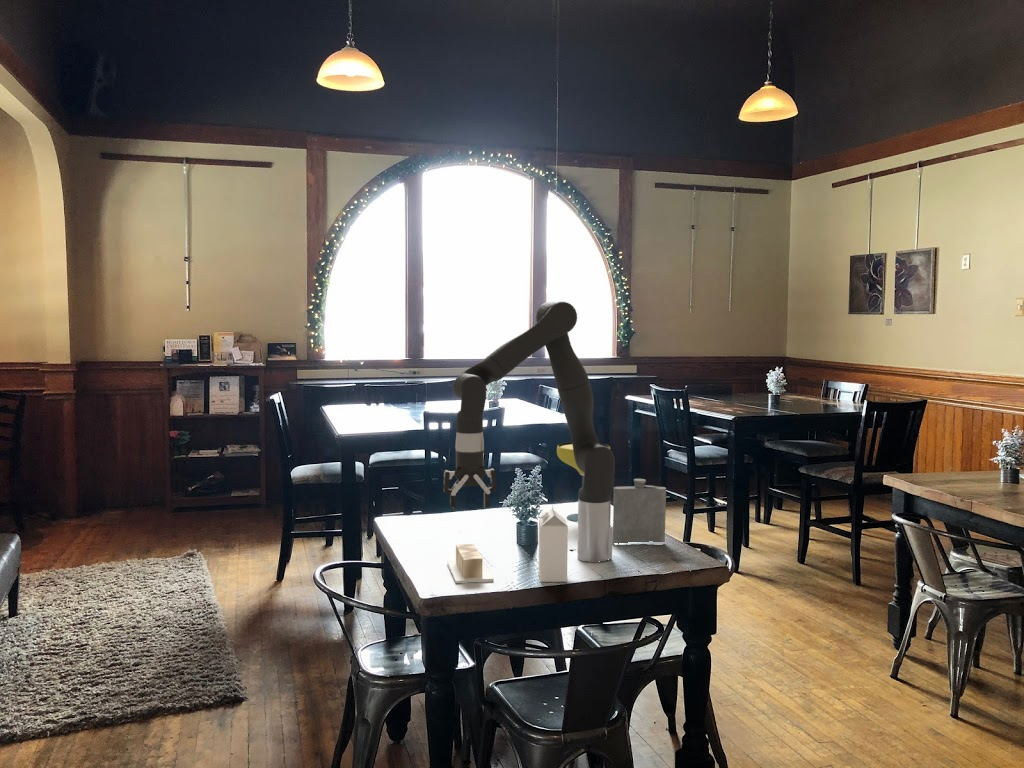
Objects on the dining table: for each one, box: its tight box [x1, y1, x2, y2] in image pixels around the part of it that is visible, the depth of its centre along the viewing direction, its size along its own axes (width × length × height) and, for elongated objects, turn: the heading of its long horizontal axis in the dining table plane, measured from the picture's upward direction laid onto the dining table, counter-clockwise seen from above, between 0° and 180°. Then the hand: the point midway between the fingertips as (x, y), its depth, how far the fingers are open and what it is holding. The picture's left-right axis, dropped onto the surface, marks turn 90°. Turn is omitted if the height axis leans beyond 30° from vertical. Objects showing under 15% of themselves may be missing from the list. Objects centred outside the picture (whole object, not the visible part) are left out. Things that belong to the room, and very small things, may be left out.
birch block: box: [455, 543, 483, 578], centre depth 231 cm, size 5×5×14 cm
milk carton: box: [538, 504, 569, 583], centre depth 226 cm, size 7×7×19 cm
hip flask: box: [612, 478, 667, 544], centre depth 259 cm, size 16×4×20 cm, turn 92°
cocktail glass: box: [556, 441, 611, 522], centre depth 289 cm, size 18×18×25 cm
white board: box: [447, 559, 495, 584], centre depth 231 cm, size 10×17×1 cm, turn 12°
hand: (470, 508), depth 229 cm, fingers open, 8 cm apart
